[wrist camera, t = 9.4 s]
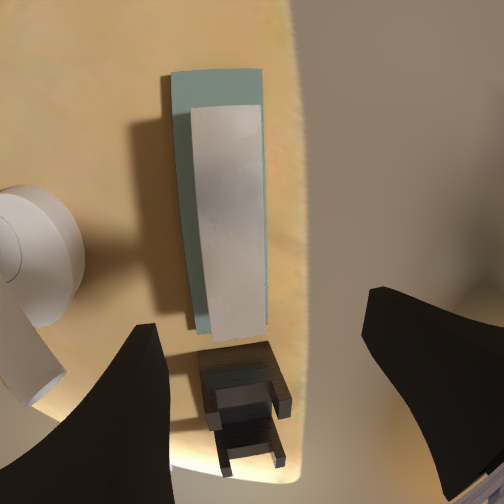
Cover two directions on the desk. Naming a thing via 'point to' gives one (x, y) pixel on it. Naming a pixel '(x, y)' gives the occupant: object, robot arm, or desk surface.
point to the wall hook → (34, 285)
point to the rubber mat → (183, 99)
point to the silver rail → (231, 217)
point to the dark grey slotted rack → (244, 401)
